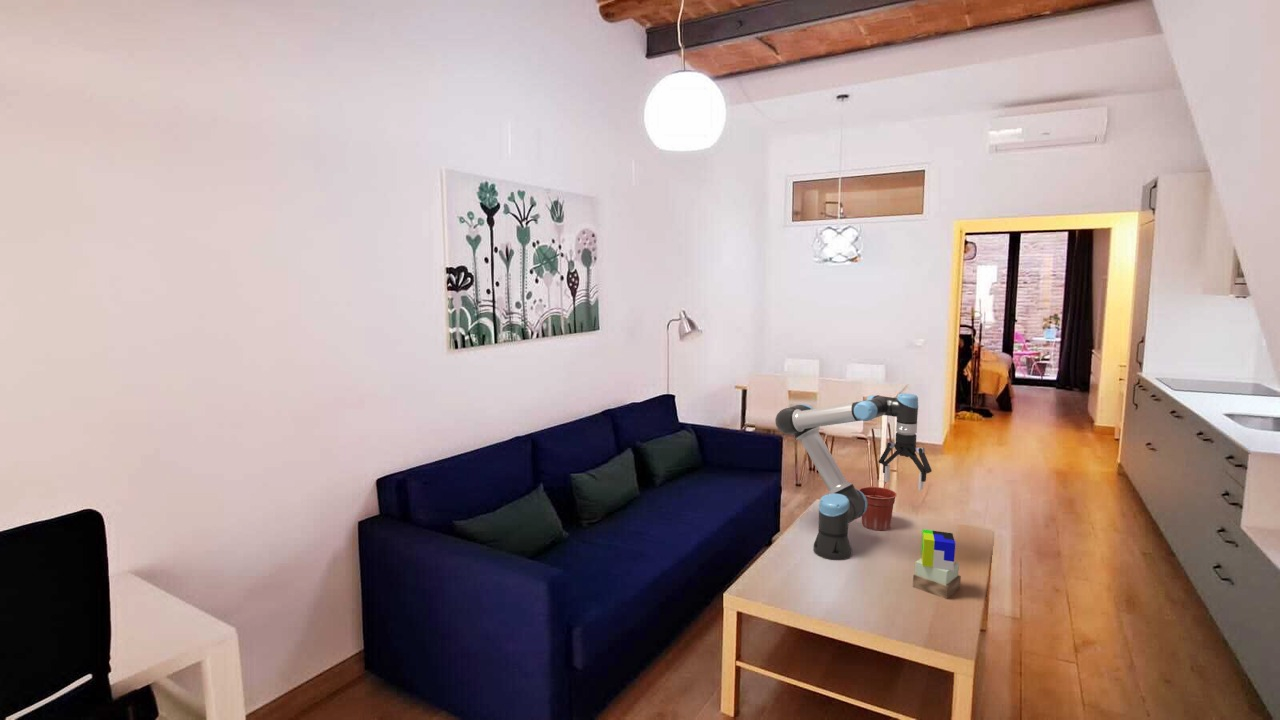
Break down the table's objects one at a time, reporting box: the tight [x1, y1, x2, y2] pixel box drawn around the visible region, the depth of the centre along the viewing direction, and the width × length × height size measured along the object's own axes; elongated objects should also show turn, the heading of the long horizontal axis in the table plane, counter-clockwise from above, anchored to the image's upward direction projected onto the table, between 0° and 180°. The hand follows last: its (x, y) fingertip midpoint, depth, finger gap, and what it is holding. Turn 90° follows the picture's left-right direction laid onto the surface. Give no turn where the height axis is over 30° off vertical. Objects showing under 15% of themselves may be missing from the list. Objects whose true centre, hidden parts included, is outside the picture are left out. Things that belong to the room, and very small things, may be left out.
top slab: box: [914, 558, 960, 585], centre depth 230 cm, size 11×11×5 cm
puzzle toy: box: [920, 529, 956, 571], centre depth 229 cm, size 10×10×10 cm
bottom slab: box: [912, 573, 961, 600], centre depth 231 cm, size 12×12×5 cm
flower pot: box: [858, 486, 898, 532], centre depth 289 cm, size 16×16×16 cm
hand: (903, 485), depth 251 cm, fingers open, 13 cm apart
